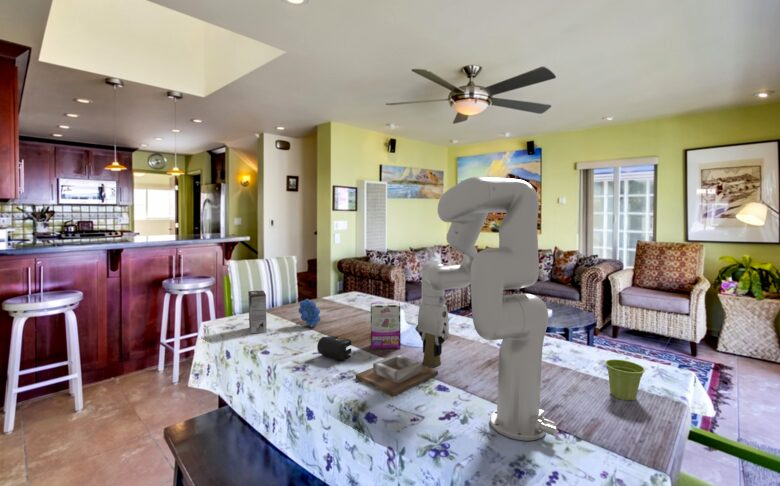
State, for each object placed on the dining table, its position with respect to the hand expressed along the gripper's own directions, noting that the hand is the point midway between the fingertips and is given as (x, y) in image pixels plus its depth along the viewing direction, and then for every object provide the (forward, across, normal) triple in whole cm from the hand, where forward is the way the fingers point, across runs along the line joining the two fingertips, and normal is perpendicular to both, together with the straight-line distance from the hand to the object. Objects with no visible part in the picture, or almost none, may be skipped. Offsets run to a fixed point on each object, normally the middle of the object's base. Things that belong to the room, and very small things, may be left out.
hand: (432, 353), depth 128 cm
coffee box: (+4, +75, +24) cm, 79 cm away
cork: (+3, 0, 0) cm, 3 cm away
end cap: (+4, +27, +20) cm, 34 cm away
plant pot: (+4, -52, -19) cm, 55 cm away
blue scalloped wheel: (+3, +64, +6) cm, 64 cm away
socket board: (+3, +1, +16) cm, 16 cm away
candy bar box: (+4, +22, 0) cm, 22 cm away
